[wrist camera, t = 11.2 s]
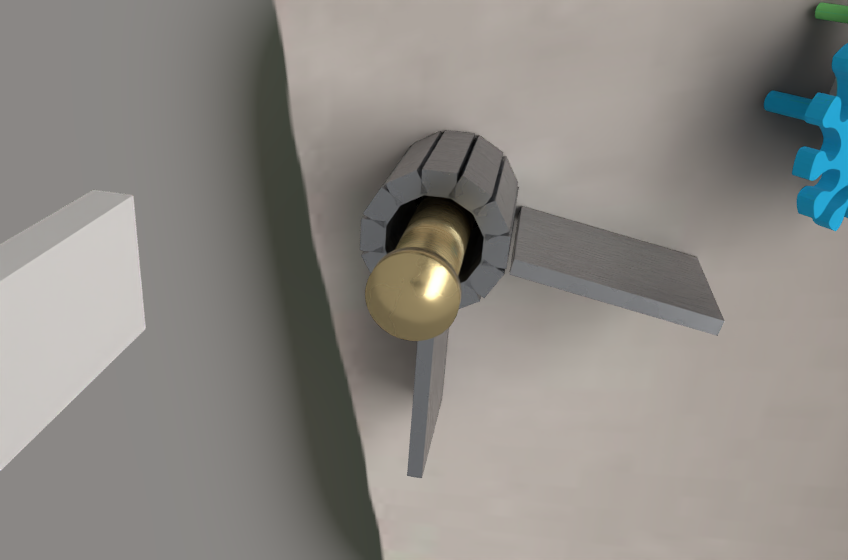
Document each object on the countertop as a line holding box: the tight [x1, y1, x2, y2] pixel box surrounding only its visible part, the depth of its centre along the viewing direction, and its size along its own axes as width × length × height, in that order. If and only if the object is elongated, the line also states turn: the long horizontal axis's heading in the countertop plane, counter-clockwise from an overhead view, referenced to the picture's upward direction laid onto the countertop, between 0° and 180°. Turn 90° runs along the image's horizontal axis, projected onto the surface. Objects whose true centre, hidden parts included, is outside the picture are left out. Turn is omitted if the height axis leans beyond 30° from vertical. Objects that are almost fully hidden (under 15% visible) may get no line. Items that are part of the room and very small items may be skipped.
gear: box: [764, 3, 848, 231], centre depth 37 cm, size 11×6×10 cm
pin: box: [365, 195, 475, 341], centre depth 38 cm, size 4×4×14 cm
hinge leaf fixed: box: [360, 130, 519, 478], centre depth 43 cm, size 17×7×8 cm, turn 176°
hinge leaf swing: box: [510, 206, 724, 336], centre depth 40 cm, size 10×1×8 cm, turn 76°
